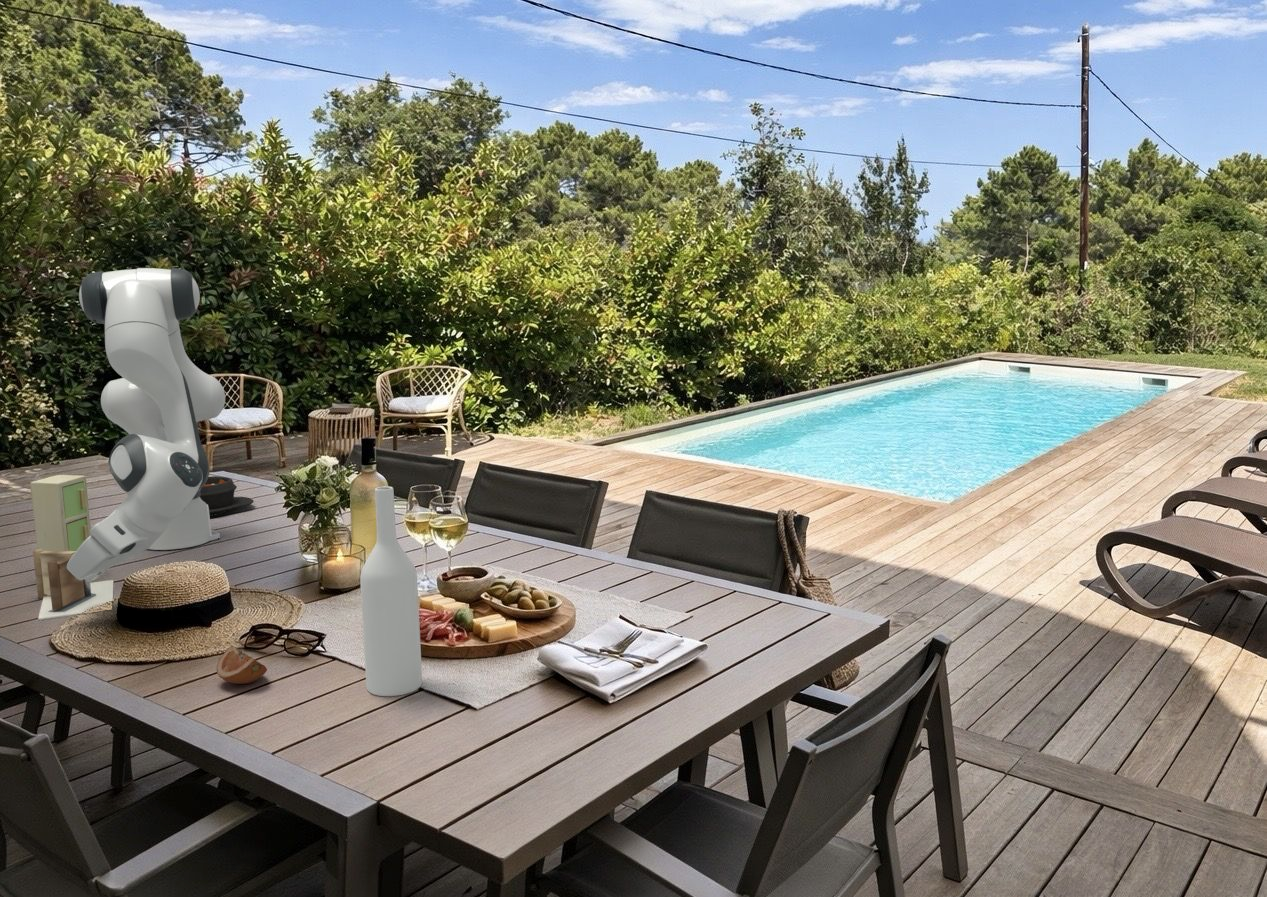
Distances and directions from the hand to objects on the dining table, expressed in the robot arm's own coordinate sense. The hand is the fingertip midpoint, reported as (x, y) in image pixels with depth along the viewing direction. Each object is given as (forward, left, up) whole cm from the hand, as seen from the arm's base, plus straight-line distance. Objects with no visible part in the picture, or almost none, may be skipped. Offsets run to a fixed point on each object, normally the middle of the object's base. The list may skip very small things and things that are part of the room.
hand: (89, 577), depth 193 cm
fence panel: (-3, -4, -5) cm, 7 cm away
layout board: (-8, -3, -6) cm, 10 cm away
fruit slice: (+52, +21, -6) cm, 57 cm away
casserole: (-78, +24, -6) cm, 82 cm away
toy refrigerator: (-24, -5, -6) cm, 25 cm away
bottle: (+64, +41, -6) cm, 76 cm away
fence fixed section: (-10, -5, -6) cm, 13 cm away
